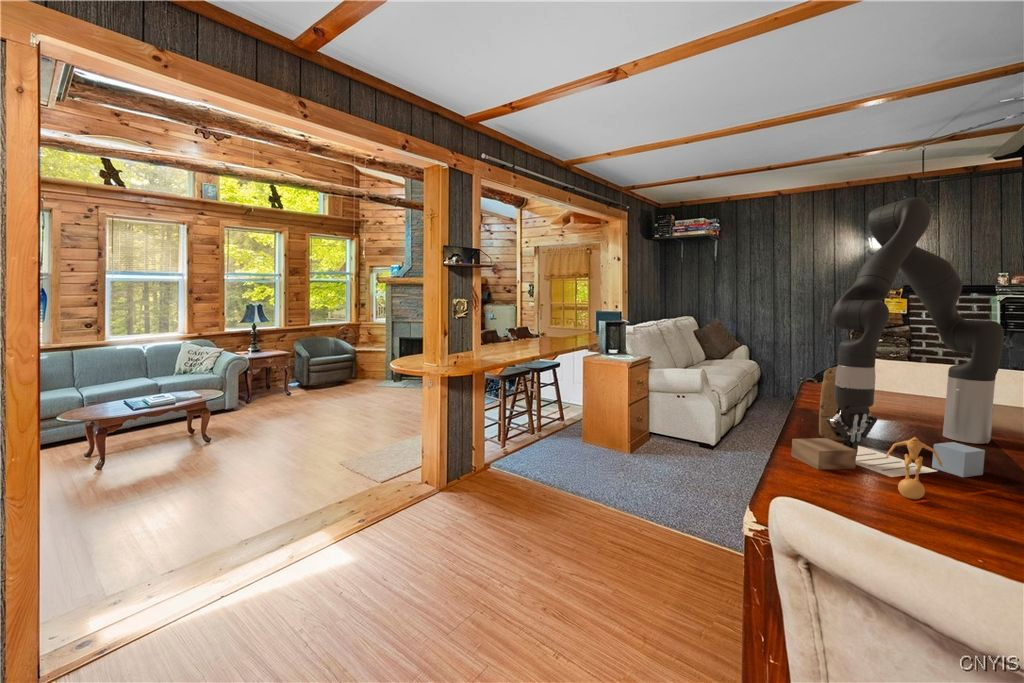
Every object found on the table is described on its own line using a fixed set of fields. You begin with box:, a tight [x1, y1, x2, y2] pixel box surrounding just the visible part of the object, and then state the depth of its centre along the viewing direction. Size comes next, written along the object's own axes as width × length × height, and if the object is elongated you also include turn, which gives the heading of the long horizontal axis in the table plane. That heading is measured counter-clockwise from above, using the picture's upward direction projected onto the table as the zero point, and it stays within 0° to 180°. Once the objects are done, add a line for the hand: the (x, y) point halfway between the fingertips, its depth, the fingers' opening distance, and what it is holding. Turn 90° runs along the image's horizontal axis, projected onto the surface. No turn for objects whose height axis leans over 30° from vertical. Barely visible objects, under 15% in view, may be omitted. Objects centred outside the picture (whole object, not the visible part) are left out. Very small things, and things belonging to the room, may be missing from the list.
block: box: [818, 366, 843, 442], centre depth 128 cm, size 11×8×20 cm
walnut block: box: [790, 437, 856, 471], centre depth 109 cm, size 9×9×5 cm
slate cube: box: [931, 441, 986, 478], centre depth 103 cm, size 6×6×6 cm
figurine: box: [886, 436, 942, 500], centre depth 90 cm, size 8×6×12 cm
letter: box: [855, 445, 938, 478], centre depth 111 cm, size 14×20×1 cm
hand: (849, 455), depth 109 cm, fingers closed
